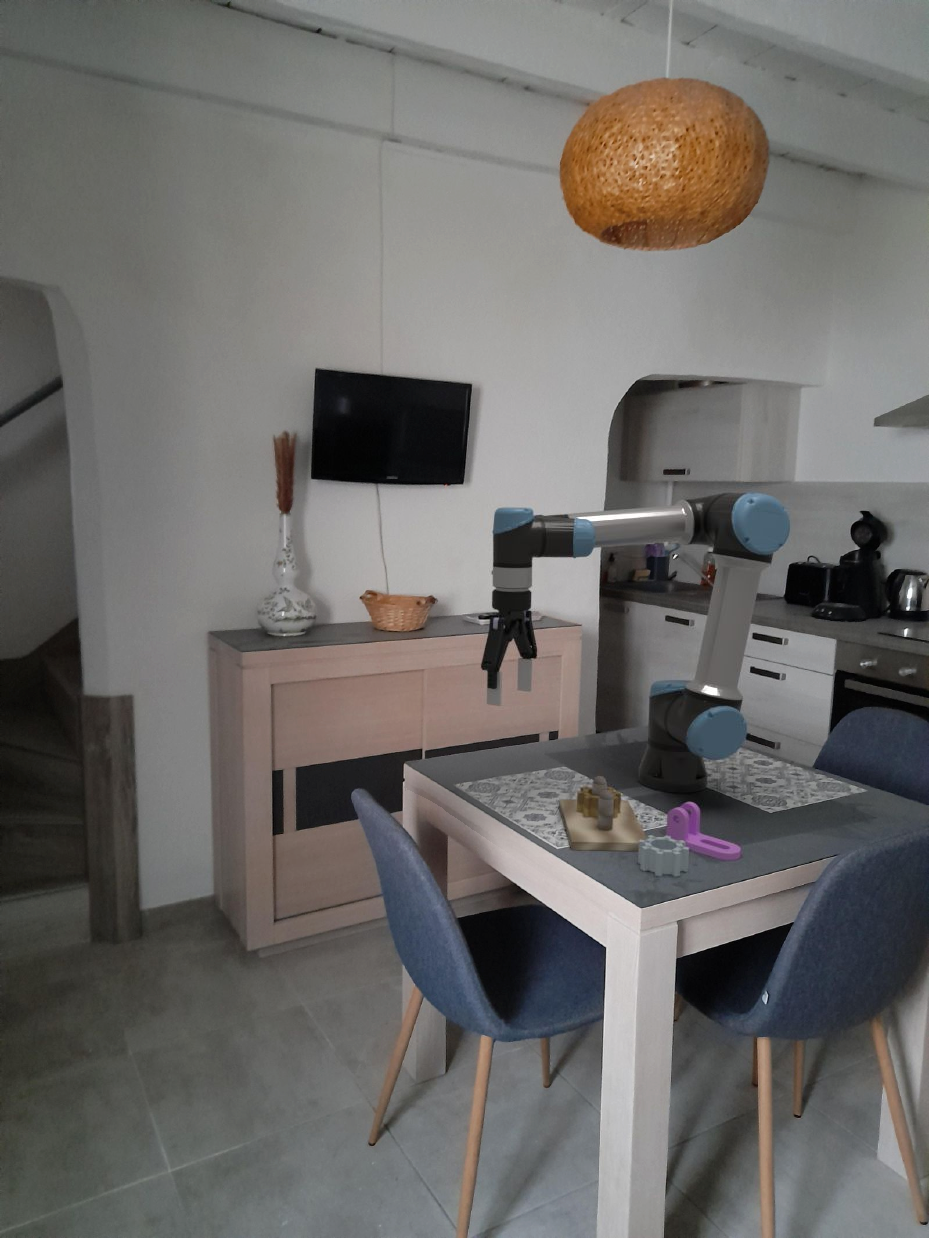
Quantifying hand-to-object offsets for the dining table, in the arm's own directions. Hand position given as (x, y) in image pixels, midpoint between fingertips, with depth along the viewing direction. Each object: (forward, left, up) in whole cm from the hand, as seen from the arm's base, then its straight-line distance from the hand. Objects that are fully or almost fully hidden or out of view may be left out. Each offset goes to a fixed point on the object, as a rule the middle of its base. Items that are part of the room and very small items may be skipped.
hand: (509, 697), depth 172 cm
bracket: (-36, +14, -25) cm, 45 cm away
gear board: (-18, +5, -24) cm, 31 cm away
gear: (-26, +22, -24) cm, 42 cm away
